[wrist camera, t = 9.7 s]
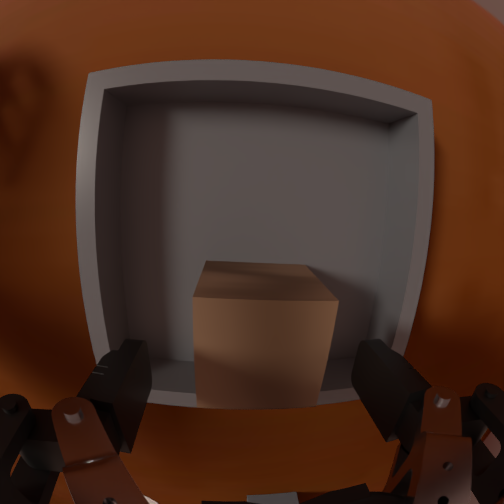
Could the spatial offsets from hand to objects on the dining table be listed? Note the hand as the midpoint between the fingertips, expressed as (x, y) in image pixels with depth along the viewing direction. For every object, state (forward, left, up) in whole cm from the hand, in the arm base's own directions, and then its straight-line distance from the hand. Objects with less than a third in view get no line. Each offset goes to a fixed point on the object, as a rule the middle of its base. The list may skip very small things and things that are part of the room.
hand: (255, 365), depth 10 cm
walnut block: (0, 0, -5) cm, 5 cm away
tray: (0, +4, -6) cm, 7 cm away
